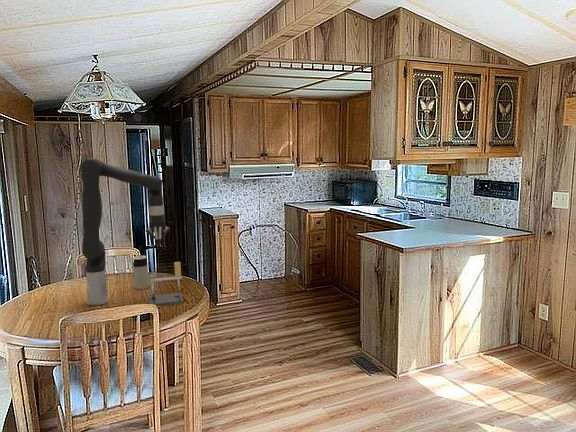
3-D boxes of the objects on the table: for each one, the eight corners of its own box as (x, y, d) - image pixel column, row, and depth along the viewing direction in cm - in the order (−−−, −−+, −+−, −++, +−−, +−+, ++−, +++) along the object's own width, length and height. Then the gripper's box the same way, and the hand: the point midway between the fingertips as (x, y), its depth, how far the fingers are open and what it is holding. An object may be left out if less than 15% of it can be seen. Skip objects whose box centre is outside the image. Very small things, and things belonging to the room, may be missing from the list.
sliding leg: (176, 297, 233) (174, 264, 230) (176, 294, 236) (174, 262, 234) (182, 296, 233) (180, 263, 231) (182, 294, 237) (180, 261, 235)
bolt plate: (148, 307, 224) (146, 279, 222) (149, 298, 238) (147, 272, 236) (183, 303, 229) (182, 276, 227) (182, 295, 242) (181, 269, 240)
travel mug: (141, 290, 253) (138, 259, 250) (131, 288, 257) (129, 257, 255) (152, 286, 260) (149, 256, 257) (142, 284, 264) (140, 254, 261)
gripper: (143, 215, 231) (145, 248, 234) (169, 214, 235) (171, 246, 237) (144, 213, 238) (146, 245, 241) (169, 212, 242) (171, 243, 244)
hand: (158, 245), depth 239 cm, fingers closed
